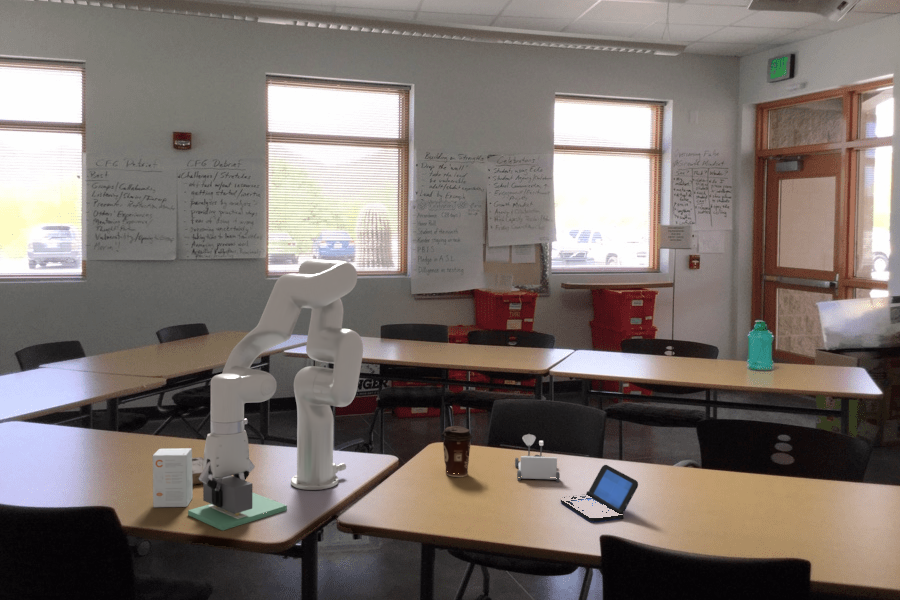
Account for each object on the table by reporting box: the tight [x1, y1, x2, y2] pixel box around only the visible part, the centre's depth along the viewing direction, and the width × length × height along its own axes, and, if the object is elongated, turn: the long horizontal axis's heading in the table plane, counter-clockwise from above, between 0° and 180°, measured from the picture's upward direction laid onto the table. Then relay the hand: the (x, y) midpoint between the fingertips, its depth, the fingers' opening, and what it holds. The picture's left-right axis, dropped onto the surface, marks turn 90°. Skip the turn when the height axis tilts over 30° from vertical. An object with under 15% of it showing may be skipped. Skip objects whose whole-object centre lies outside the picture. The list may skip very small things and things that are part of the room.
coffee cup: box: [441, 425, 473, 478], centre depth 219 cm, size 9×8×13 cm
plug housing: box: [202, 475, 253, 514], centre depth 183 cm, size 5×13×6 cm, turn 50°
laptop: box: [560, 464, 639, 524], centre depth 193 cm, size 16×13×9 cm
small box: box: [152, 447, 194, 508], centre depth 190 cm, size 8×6×13 cm
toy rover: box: [514, 433, 561, 483], centre depth 223 cm, size 18×10×12 cm
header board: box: [187, 491, 288, 532], centre depth 185 cm, size 18×14×4 cm
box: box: [192, 456, 204, 486], centre depth 212 cm, size 11×17×3 cm, turn 32°
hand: (227, 502), depth 183 cm, fingers closed on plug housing, 4 cm apart
